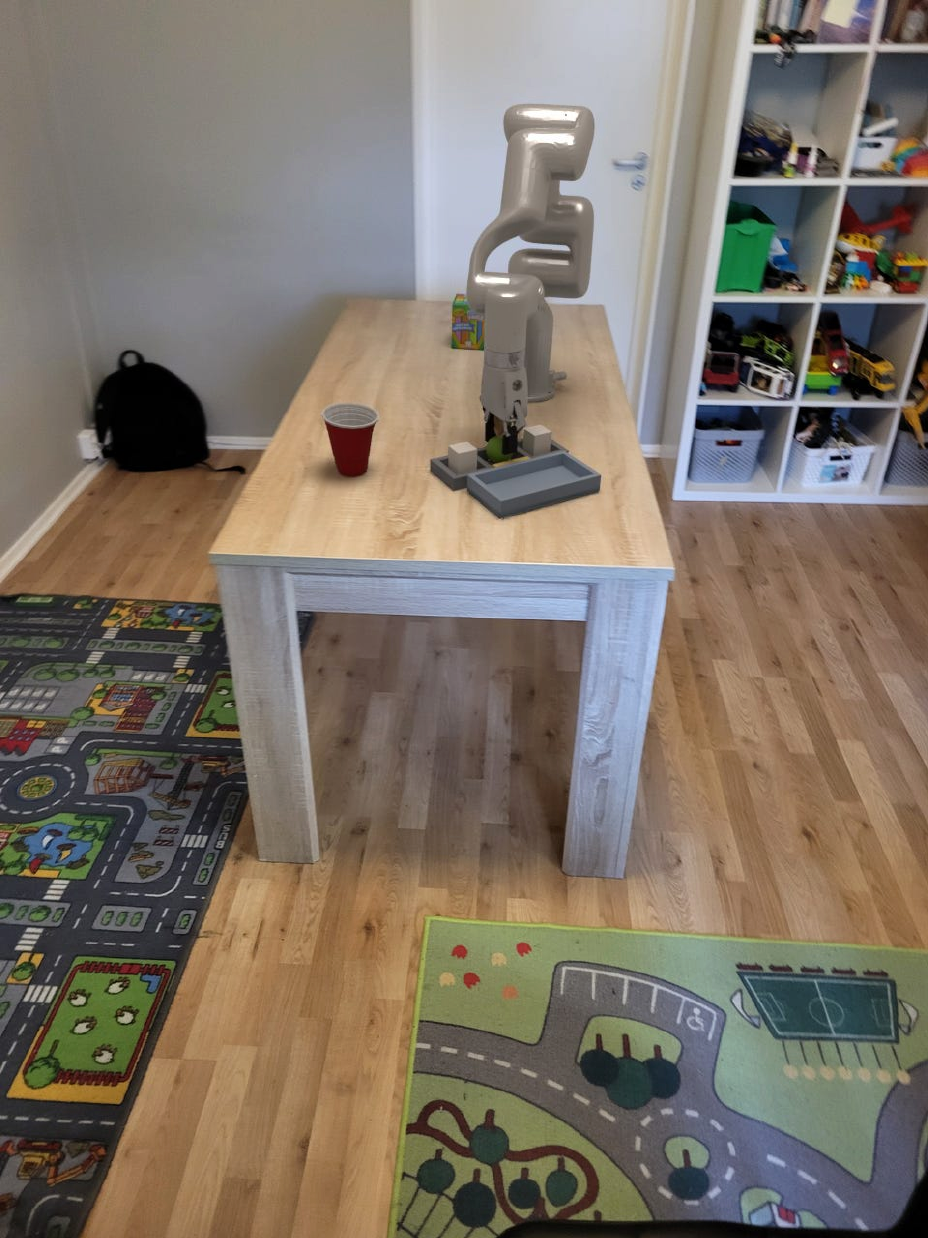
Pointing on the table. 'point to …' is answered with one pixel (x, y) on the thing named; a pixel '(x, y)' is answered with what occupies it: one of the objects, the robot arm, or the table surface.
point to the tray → (533, 483)
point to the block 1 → (462, 458)
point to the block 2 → (536, 440)
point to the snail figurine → (497, 443)
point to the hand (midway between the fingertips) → (500, 445)
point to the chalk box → (466, 325)
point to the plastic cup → (350, 435)
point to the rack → (481, 464)
